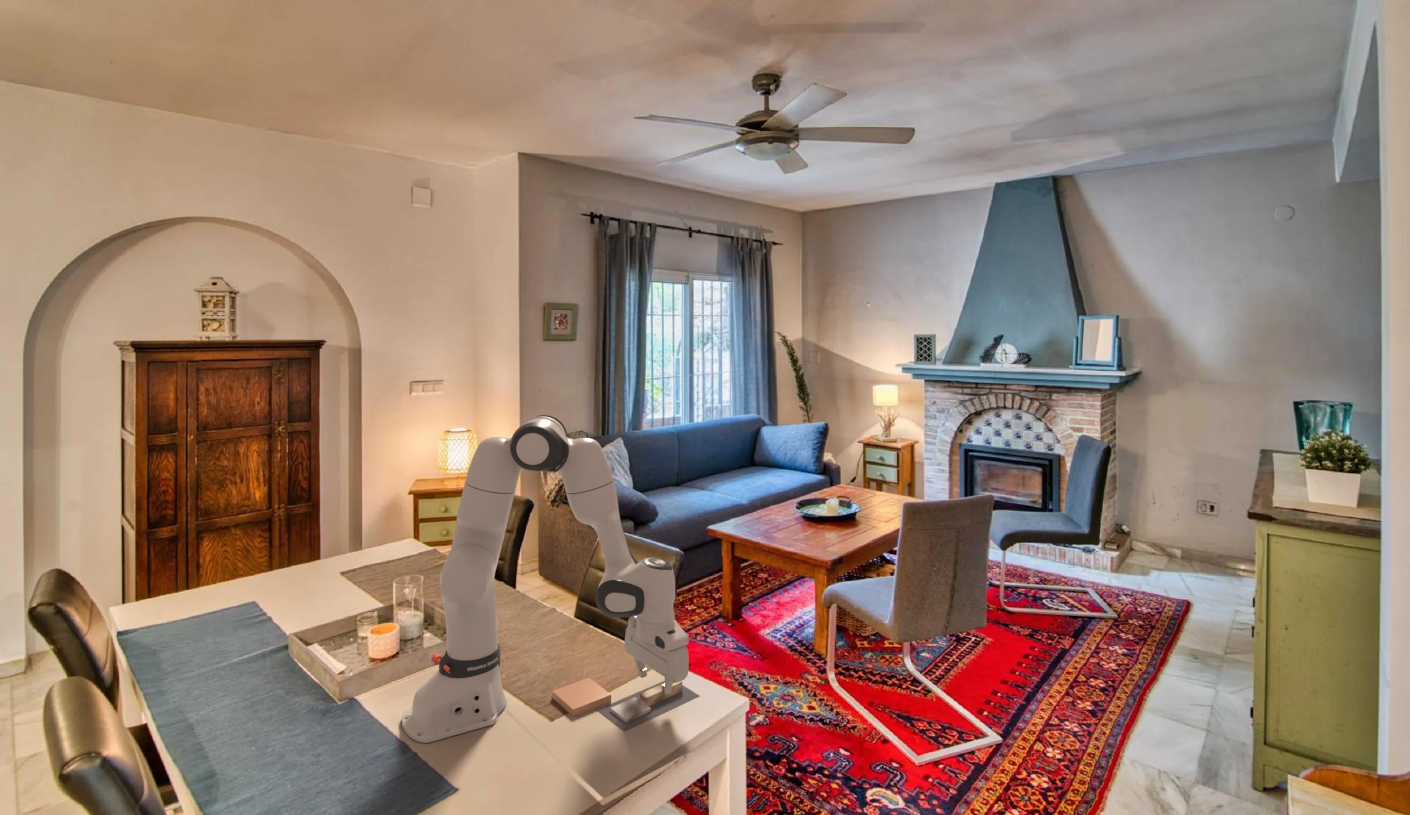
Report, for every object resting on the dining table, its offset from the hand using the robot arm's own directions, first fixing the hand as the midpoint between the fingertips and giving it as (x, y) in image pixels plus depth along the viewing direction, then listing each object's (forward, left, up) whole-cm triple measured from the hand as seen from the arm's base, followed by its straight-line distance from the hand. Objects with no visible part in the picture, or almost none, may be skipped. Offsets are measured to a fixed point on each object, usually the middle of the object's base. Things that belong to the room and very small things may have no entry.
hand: (654, 684), depth 159 cm
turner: (-2, 0, -4) cm, 5 cm away
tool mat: (-1, 0, -5) cm, 5 cm away
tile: (-8, +11, -4) cm, 14 cm away
